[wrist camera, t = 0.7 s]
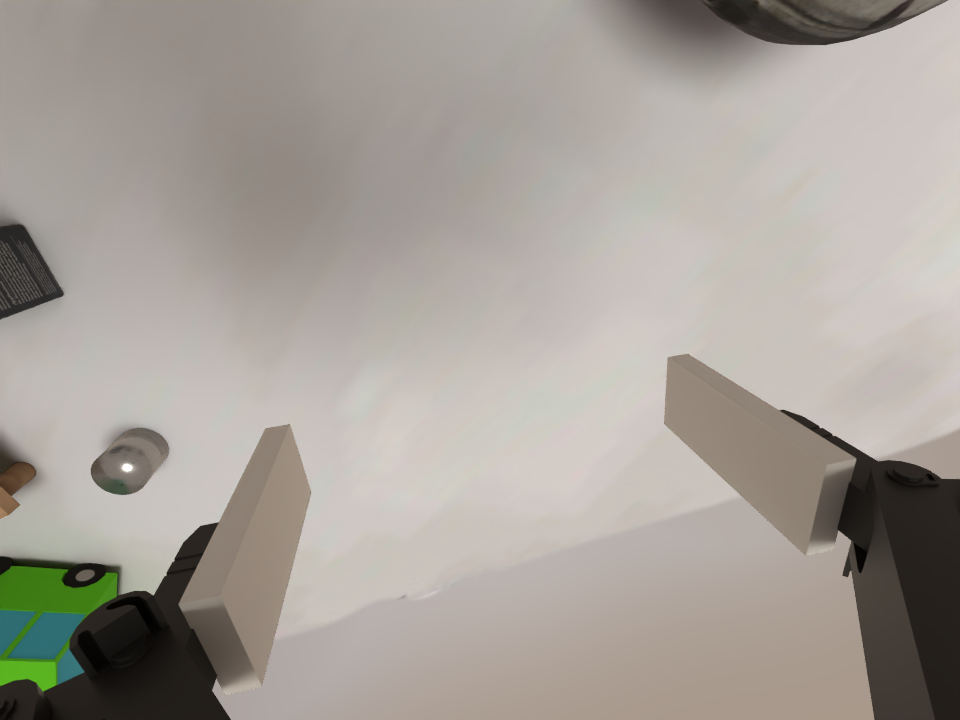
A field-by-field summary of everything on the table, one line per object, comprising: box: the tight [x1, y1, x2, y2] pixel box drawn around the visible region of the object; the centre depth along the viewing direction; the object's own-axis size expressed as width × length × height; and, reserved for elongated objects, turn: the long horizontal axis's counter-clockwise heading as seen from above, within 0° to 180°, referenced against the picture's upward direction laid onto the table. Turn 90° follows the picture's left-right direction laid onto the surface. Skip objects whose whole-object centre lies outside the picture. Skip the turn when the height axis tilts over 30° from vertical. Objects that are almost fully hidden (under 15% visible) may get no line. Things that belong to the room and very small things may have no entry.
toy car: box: [0, 556, 117, 691], centre depth 40 cm, size 10×13×10 cm
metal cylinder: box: [91, 428, 169, 495], centre depth 39 cm, size 4×4×4 cm
